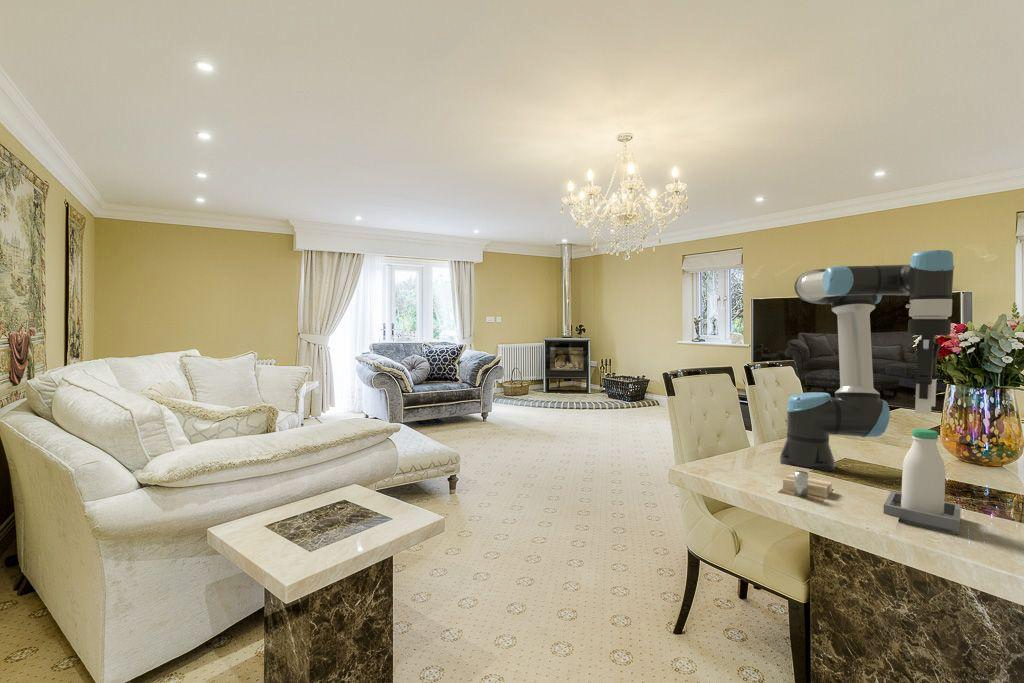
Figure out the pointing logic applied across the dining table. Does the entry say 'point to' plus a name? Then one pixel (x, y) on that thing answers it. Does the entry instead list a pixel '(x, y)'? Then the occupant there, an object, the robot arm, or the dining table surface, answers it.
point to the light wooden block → (810, 486)
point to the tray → (925, 515)
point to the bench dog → (801, 484)
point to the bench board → (810, 497)
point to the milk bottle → (923, 474)
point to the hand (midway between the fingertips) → (925, 409)
